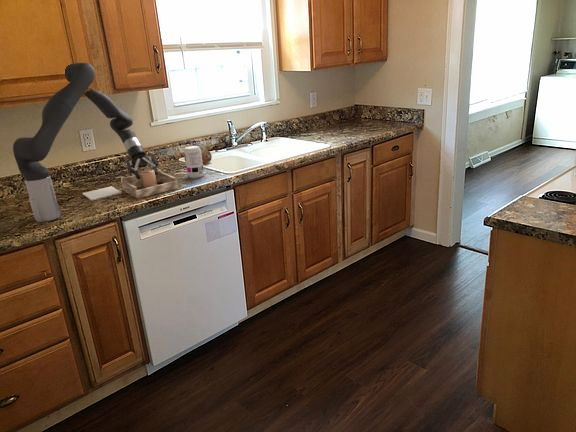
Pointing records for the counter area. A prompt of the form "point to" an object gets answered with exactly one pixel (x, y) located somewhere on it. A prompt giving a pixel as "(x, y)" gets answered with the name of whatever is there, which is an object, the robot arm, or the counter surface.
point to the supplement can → (194, 161)
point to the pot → (148, 178)
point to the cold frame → (133, 183)
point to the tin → (205, 156)
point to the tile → (101, 193)
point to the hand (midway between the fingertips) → (148, 176)
